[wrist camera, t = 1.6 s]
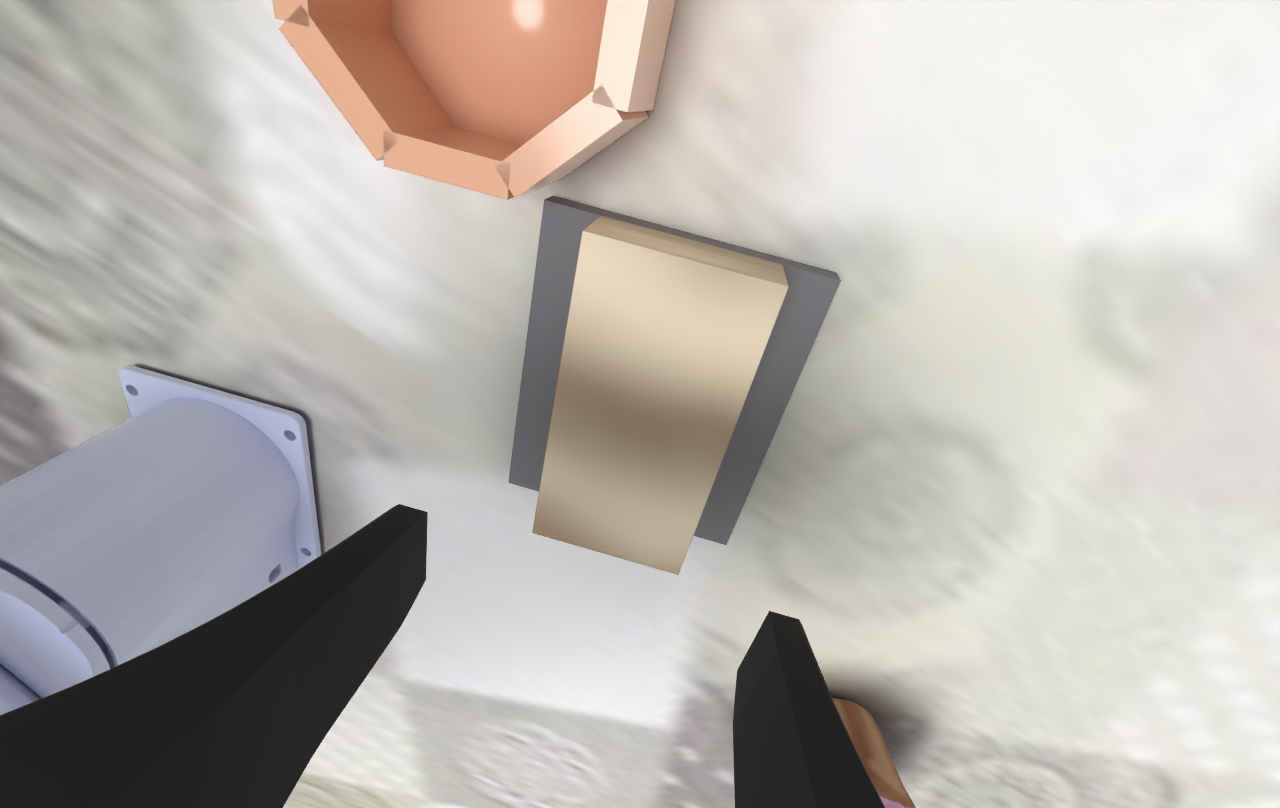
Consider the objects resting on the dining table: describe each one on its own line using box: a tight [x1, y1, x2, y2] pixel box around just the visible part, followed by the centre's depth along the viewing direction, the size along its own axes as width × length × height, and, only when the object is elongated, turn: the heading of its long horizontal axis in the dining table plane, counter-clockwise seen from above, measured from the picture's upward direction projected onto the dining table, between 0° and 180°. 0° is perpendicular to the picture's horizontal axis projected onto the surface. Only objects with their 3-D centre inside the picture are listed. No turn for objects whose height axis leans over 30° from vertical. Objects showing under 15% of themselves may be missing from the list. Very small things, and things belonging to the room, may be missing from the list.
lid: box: [532, 216, 789, 575], centre depth 18 cm, size 11×6×2 cm, turn 167°
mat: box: [509, 196, 841, 545], centre depth 19 cm, size 11×9×1 cm
